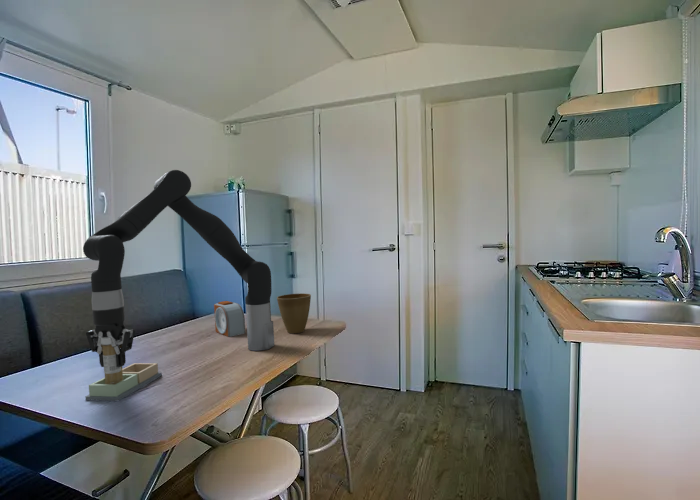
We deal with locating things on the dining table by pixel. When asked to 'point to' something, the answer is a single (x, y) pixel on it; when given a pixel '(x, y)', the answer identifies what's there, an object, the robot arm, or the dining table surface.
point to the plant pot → (294, 311)
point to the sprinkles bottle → (110, 362)
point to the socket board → (124, 382)
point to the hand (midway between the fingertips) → (112, 365)
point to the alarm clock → (229, 318)
